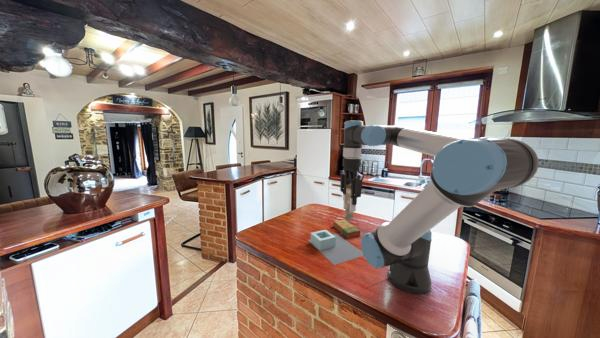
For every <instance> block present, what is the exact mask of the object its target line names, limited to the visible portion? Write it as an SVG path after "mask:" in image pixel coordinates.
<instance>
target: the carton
mask: <svg viewBox="0 0 600 338" xmlns="http://www.w3.org/2000/svg"><path fill="white" fill-rule="evenodd" d="M332 227H333V228H335V230H337V231H338V232H339V233H341V235H343V236H344V237H345V238H346V239H351V238H356V237H360V236H361V230H360V229H359V228H357V227H356V226H355V225H353V224H352V223H350V222H349V221H347V220H345V219H341V220H334V221H333V222H332Z"/></svg>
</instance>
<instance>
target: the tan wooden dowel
mask: <svg viewBox="0 0 600 338" xmlns="http://www.w3.org/2000/svg"><path fill="white" fill-rule="evenodd" d="M351 196H352V195H351V183H350V184H346V203H345V209H344V220H346V221H347V222H352V221H353V220H354V212H349V210H350V197H351Z"/></svg>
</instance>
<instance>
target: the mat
mask: <svg viewBox="0 0 600 338" xmlns="http://www.w3.org/2000/svg"><path fill="white" fill-rule="evenodd" d="M332 234H333V235H334V236H335V237H336V246H335V247H331V248H328V249H324V250H319V249H318V248H316V247H315V246H314V245H313V244H312V243H311V238H310V239H307V241H308V242H309V243H310V244H311V245H312V246H313V247H314V248H315V249H316V250H317V251H318V252H320V254H322V255H323V256H324V257H325V258H326V259H327V260H328V261H329V262H330V263H331V264H332V265H333V266H337V265H338V264H342V263H345V262H348V261H351V260H352V261H353V260H355V259H358V258H362V257H364V255H363V252H362V250H360V249H359V248H358V247H355V245H353V244H352V243H350V242H349V241H348V240H346V239H344V238H343V237H342V236H341V235H339V234H338V233H336V232H335V233H332Z"/></svg>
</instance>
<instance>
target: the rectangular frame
mask: <svg viewBox="0 0 600 338" xmlns="http://www.w3.org/2000/svg"><path fill="white" fill-rule="evenodd" d="M333 234H334V233H331V232H330V231H329V230H327V229H322V230H317V231H313V232H310V239H311V243H312V244H313V245H314V246H315V247H316V248H318V249H319V250H324V249H328V248H331V247H335V246H336V237H335V236H334V235H333ZM311 243H310V244H311ZM312 244H311V245H312ZM313 245H312V246H313ZM314 246H313V247H314ZM315 247H314V248H315ZM316 248H315V249H316ZM319 250H318V251H319Z"/></svg>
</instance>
